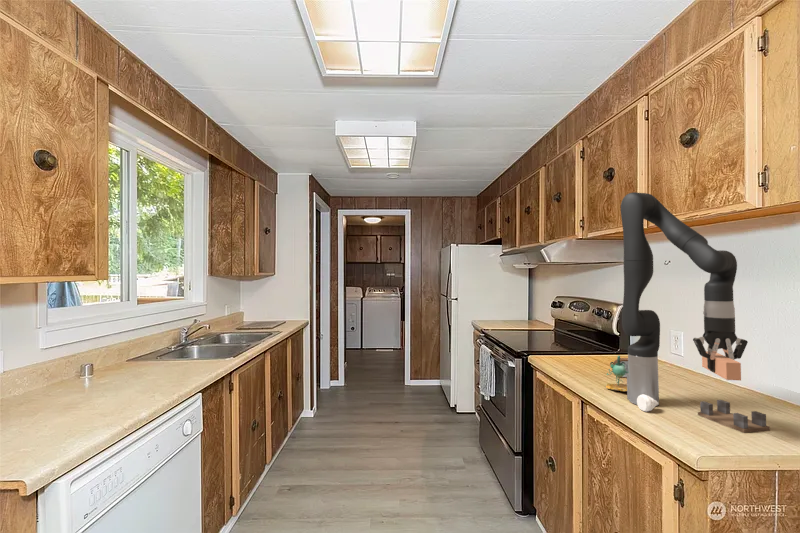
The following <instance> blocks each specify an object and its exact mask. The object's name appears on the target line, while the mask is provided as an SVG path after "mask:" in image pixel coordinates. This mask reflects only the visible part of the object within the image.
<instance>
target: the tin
mask: <svg viewBox="0 0 800 533" xmlns="http://www.w3.org/2000/svg"><path fill="white" fill-rule="evenodd" d="M622 362H624V363H625V364H624V363H622ZM616 363H617V359H615V360H614V361H613V363H612V364H614V365H616ZM620 363H622V364H624V366H625V369H626V372H627V373H628V372H629V371H628V357H620ZM627 373H625V375H624V376H622V377H621V378H622V379H627Z"/></svg>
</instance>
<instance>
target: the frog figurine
mask: <svg viewBox="0 0 800 533" xmlns="http://www.w3.org/2000/svg"><path fill="white" fill-rule="evenodd" d="M620 358H621V355H617V356H616V360H617V363H616V365H614V364H613V363H614V361H611V362H610V363H609V365H610V368H611V370H612V371H610V368H608V372H607V373H606V376H610V375H612V374H613V375H614V376H615V382H616V383H606V386H605V387H606V389H607V390H611V391H618V392H619V391H620V392H627V383H626V384H625V383H624V381H623V380H622V379H621V378H622V376H624V375H625V373H627V372H626V369H625V366H624V364H625V363H624V362H622V363H624V364H622V363H620ZM628 373H629V372H628ZM620 381H621V382H622V383H620Z"/></svg>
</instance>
